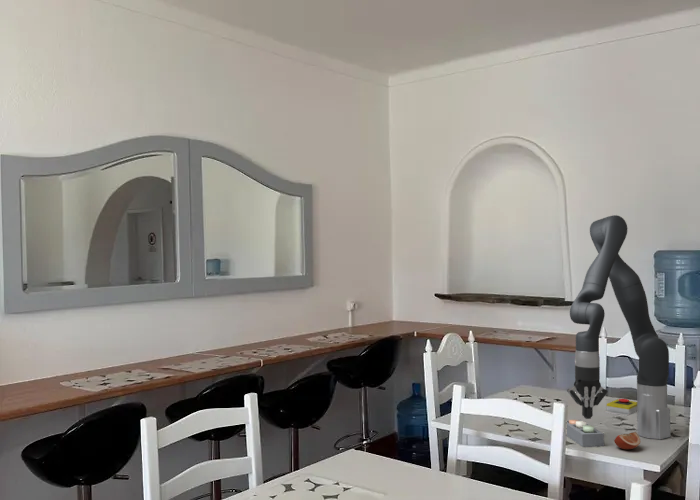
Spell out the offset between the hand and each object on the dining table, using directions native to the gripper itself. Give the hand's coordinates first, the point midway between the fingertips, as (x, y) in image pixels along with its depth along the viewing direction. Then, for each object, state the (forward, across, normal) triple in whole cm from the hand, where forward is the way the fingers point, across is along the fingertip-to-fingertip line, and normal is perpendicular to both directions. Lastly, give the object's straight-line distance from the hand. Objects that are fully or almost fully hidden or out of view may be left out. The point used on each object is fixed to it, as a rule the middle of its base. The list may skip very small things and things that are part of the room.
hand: (587, 418), depth 216 cm
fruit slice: (+8, +10, -7) cm, 15 cm away
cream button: (+5, 0, +5) cm, 7 cm away
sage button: (+5, 0, 0) cm, 5 cm away
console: (+8, 0, +5) cm, 10 cm away
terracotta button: (+6, 0, +11) cm, 12 cm away
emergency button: (+9, +32, +41) cm, 53 cm away
